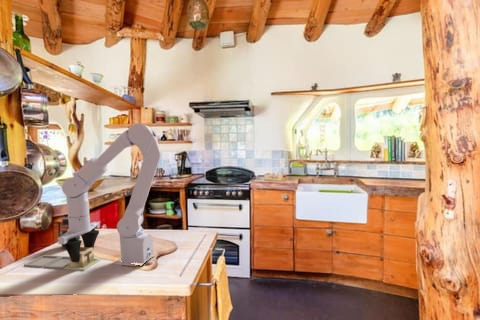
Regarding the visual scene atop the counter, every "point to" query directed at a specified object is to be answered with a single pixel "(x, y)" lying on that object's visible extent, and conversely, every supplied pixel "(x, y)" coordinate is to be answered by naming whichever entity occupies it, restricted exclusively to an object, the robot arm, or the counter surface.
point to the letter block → (84, 258)
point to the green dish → (85, 267)
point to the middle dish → (59, 263)
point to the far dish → (42, 261)
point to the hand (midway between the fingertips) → (82, 257)
